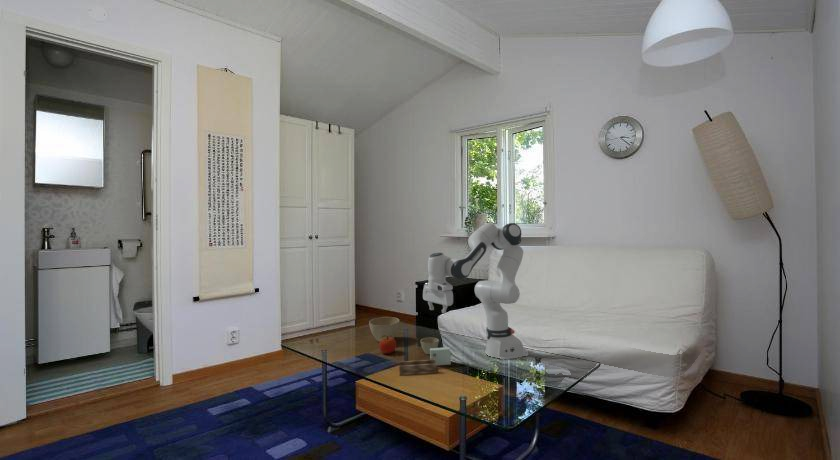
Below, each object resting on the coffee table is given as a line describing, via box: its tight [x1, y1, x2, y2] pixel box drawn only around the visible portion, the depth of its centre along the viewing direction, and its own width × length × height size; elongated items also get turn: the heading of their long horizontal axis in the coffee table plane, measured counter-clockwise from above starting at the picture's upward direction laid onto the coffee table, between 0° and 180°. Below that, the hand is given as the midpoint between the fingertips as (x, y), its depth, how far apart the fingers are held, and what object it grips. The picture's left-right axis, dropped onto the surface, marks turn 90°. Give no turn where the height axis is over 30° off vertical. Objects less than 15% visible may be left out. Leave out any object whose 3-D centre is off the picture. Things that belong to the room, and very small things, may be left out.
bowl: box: [420, 337, 440, 356], centre depth 242 cm, size 10×10×7 cm
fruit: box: [378, 335, 397, 355], centre depth 246 cm, size 10×10×10 cm
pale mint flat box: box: [429, 346, 452, 366], centre depth 225 cm, size 10×3×8 cm, turn 93°
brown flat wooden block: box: [398, 359, 438, 376], centre depth 218 cm, size 18×8×4 cm, turn 93°
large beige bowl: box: [368, 316, 400, 343], centre depth 266 cm, size 18×18×12 cm
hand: (437, 311), depth 227 cm, fingers open, 8 cm apart
